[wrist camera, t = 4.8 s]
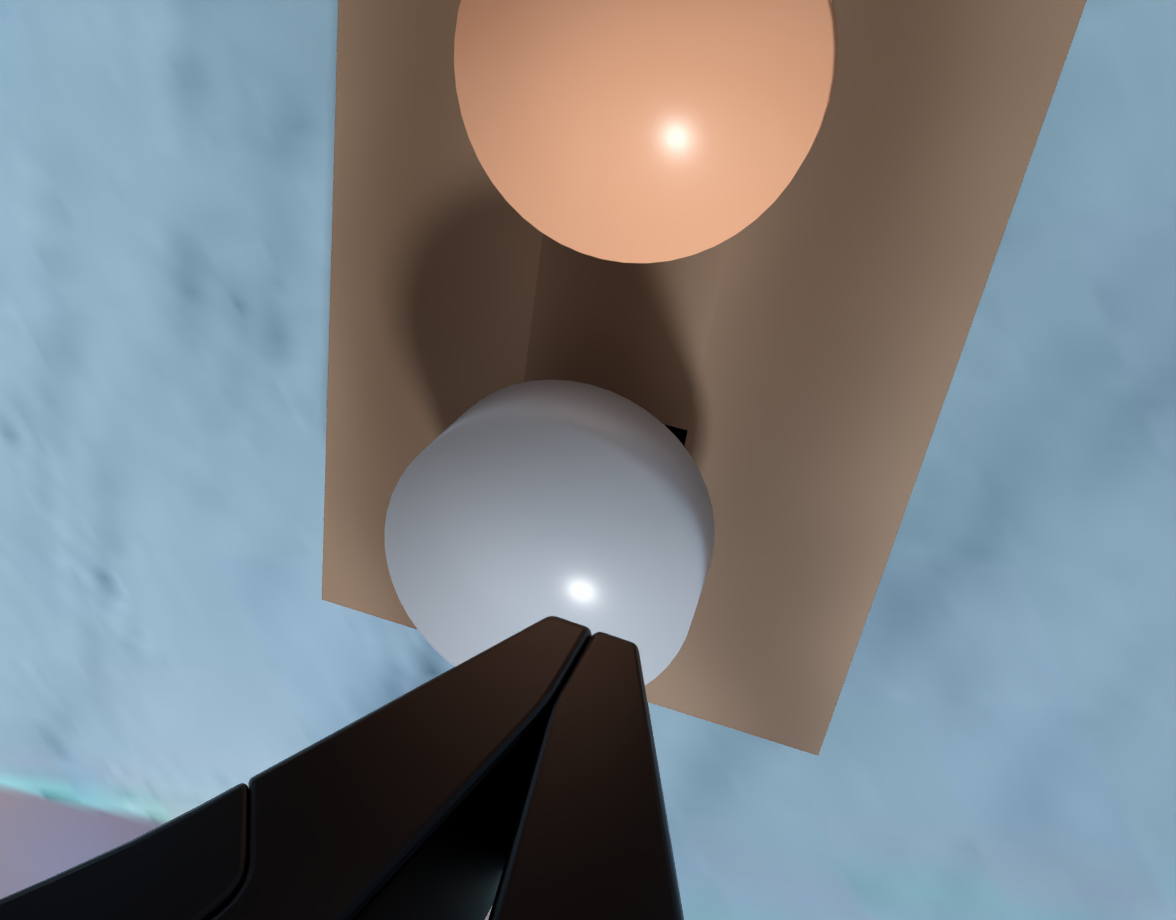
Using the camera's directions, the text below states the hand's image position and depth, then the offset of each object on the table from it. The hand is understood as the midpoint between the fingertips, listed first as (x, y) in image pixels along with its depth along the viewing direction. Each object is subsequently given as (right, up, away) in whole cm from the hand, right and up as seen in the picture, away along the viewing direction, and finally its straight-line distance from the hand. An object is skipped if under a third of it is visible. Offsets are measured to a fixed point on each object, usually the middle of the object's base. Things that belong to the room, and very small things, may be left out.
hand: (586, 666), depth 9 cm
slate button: (0, +2, +12) cm, 12 cm away
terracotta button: (+2, +10, +9) cm, 14 cm away
